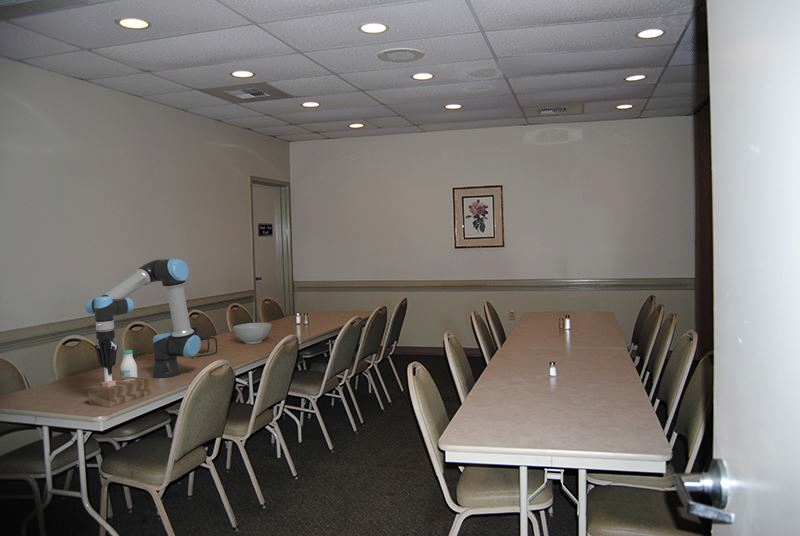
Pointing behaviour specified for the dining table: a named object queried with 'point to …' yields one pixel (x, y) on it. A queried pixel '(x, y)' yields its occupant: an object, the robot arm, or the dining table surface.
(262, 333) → the decorative bowl
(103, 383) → the clay peg
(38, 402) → the dining table surface
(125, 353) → the milk bottle
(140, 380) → the walnut block
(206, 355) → the dark open wire frame
